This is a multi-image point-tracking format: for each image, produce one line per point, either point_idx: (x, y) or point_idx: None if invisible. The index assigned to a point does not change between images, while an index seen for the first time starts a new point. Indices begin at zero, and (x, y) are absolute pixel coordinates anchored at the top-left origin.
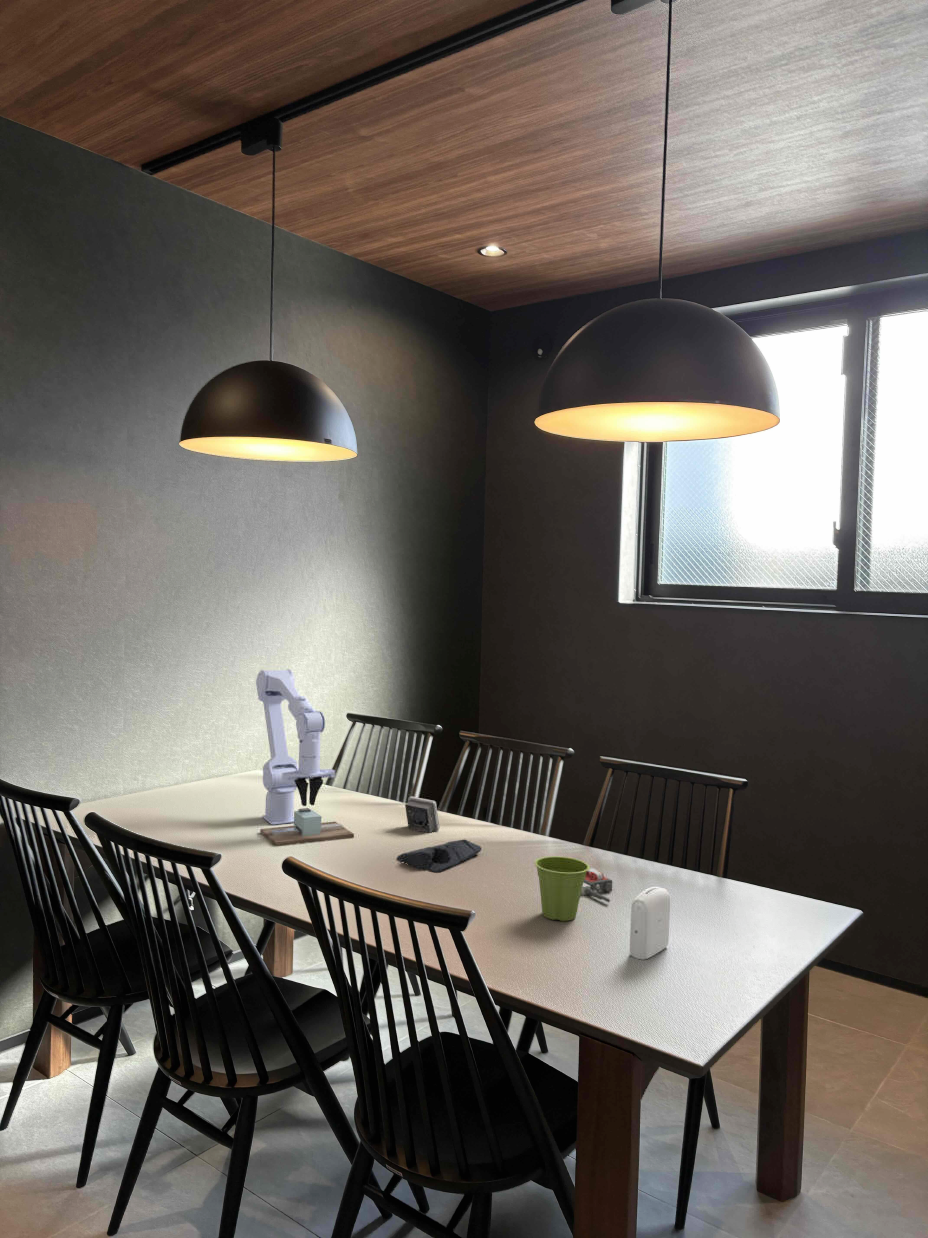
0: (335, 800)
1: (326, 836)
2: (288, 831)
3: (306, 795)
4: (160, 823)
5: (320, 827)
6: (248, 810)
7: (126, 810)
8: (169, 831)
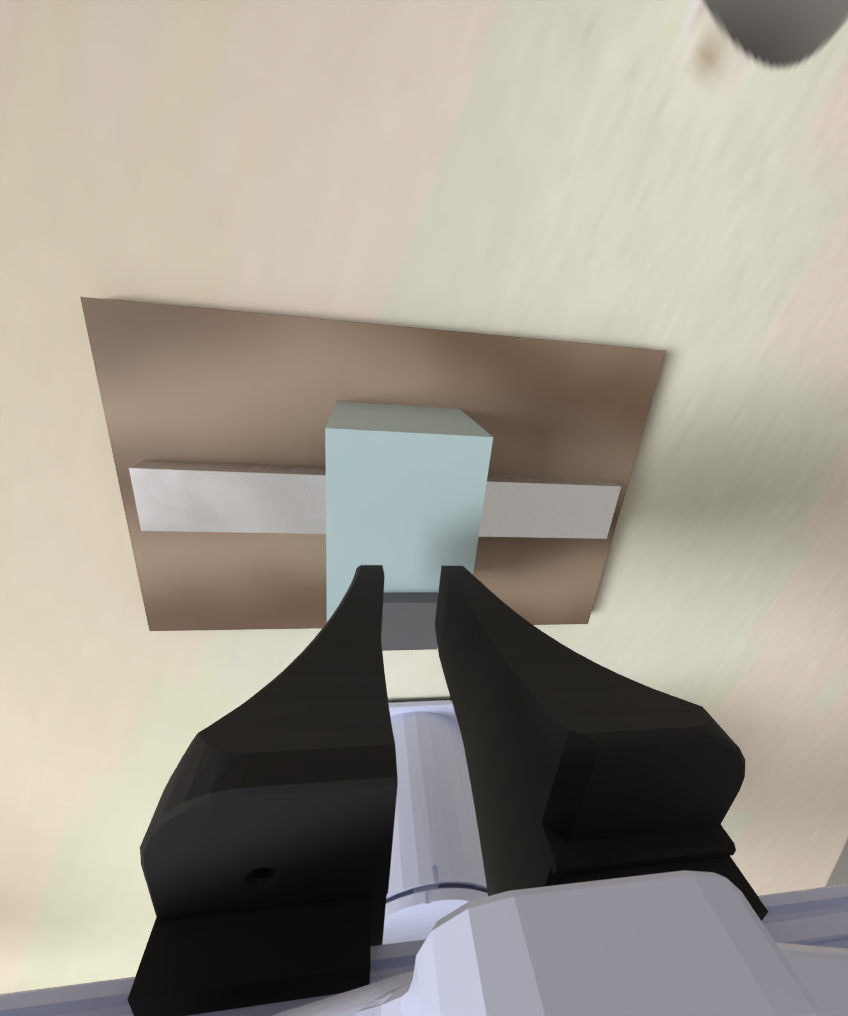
0: (54, 943)
1: (317, 329)
2: (530, 482)
3: (480, 619)
4: (783, 804)
5: (337, 411)
6: None
7: None
8: (826, 724)
